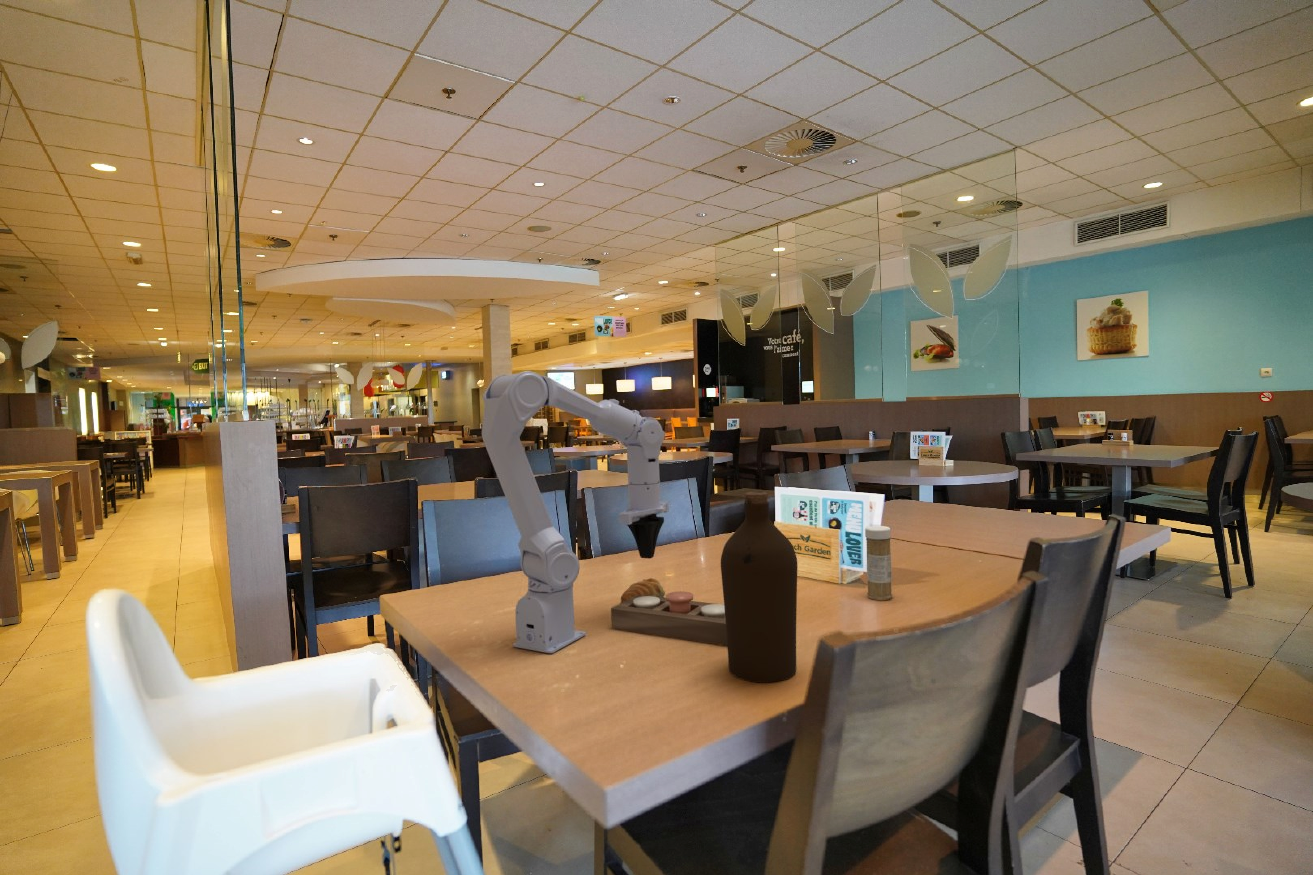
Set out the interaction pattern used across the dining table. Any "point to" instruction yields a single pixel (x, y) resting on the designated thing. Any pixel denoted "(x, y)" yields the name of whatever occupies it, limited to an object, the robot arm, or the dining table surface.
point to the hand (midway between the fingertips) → (647, 557)
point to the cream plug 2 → (713, 611)
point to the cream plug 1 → (646, 602)
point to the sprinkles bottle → (878, 562)
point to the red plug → (679, 602)
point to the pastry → (644, 589)
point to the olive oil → (760, 597)
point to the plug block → (669, 622)
